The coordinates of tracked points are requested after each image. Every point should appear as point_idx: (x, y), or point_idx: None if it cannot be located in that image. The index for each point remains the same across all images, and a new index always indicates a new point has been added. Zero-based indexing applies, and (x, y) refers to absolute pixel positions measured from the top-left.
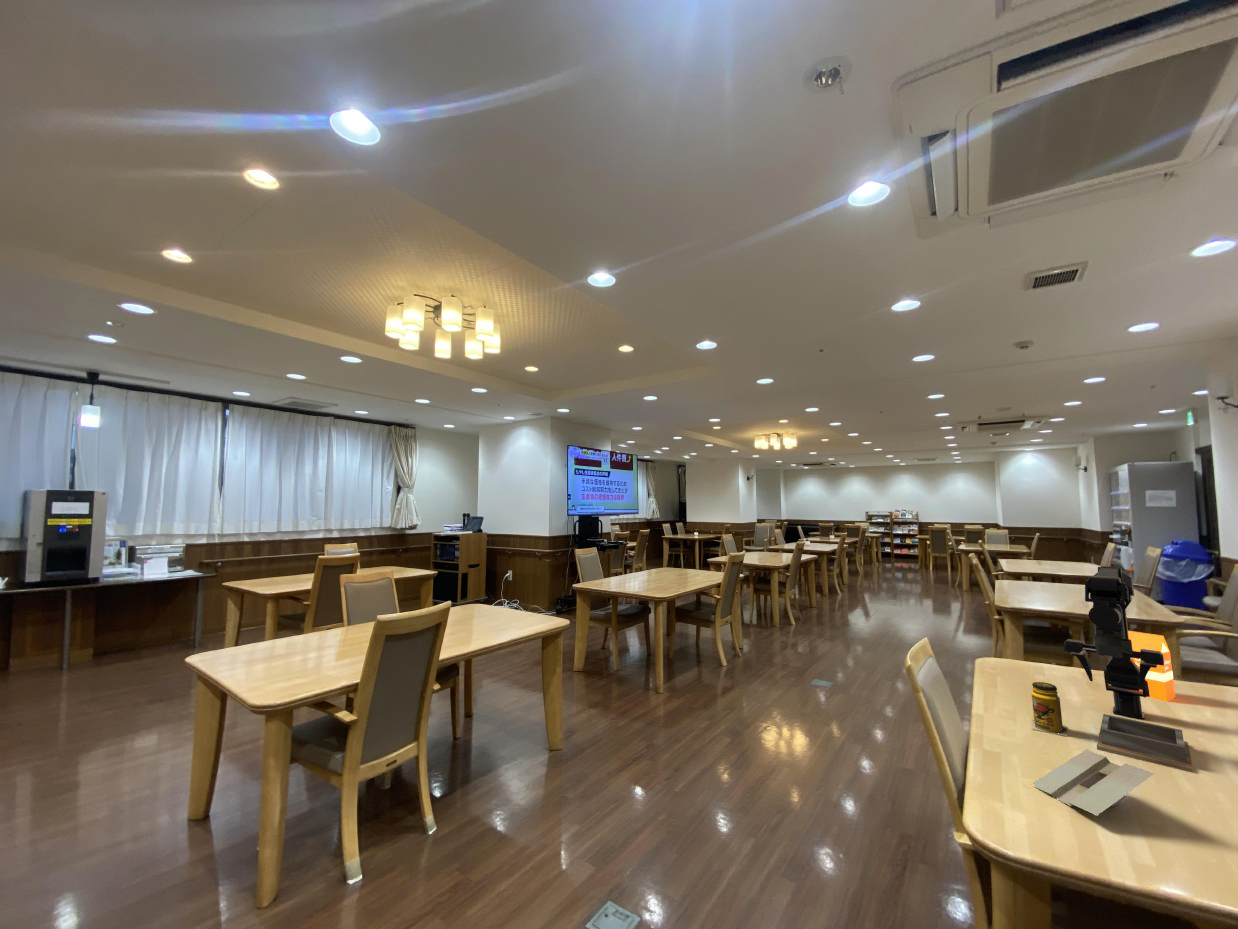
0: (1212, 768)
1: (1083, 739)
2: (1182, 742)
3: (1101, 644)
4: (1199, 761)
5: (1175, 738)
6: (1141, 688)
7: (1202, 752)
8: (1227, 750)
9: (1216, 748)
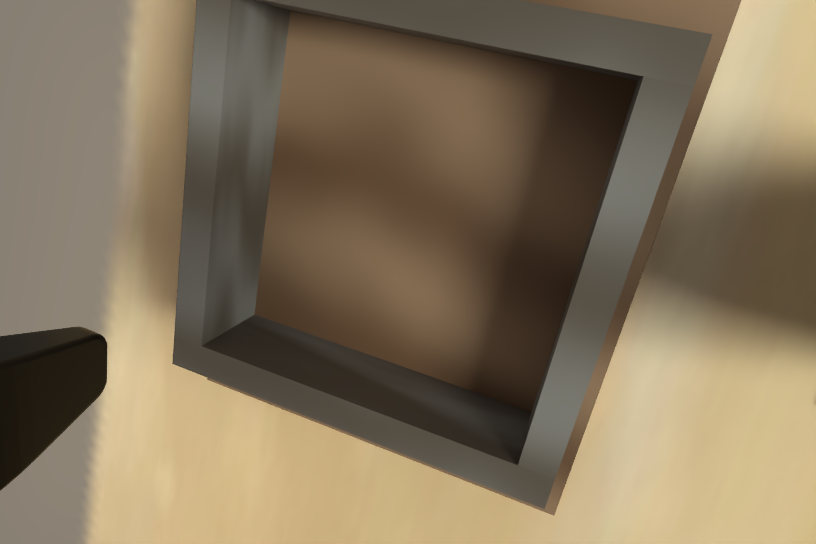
0: (180, 52)
1: (785, 158)
2: (198, 79)
3: None
4: None
5: (237, 327)
6: (57, 332)
7: None
8: None
9: (133, 385)
